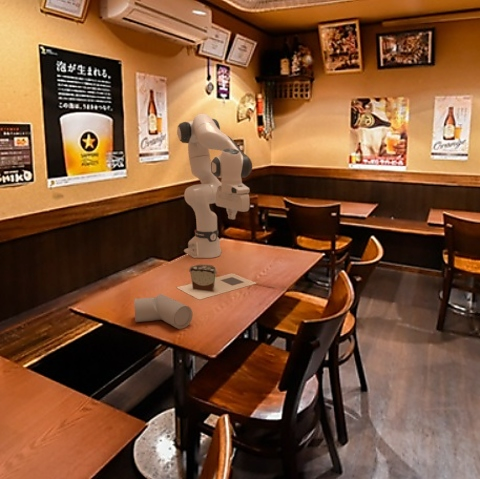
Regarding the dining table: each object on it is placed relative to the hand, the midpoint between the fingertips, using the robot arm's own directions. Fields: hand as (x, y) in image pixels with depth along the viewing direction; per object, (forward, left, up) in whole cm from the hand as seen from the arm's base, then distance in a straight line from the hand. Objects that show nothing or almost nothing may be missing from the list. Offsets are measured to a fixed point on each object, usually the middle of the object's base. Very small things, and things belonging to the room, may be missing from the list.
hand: (231, 218), depth 200 cm
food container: (0, -15, -29) cm, 33 cm away
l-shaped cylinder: (+19, -46, -30) cm, 58 cm away
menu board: (0, -8, -29) cm, 30 cm away
